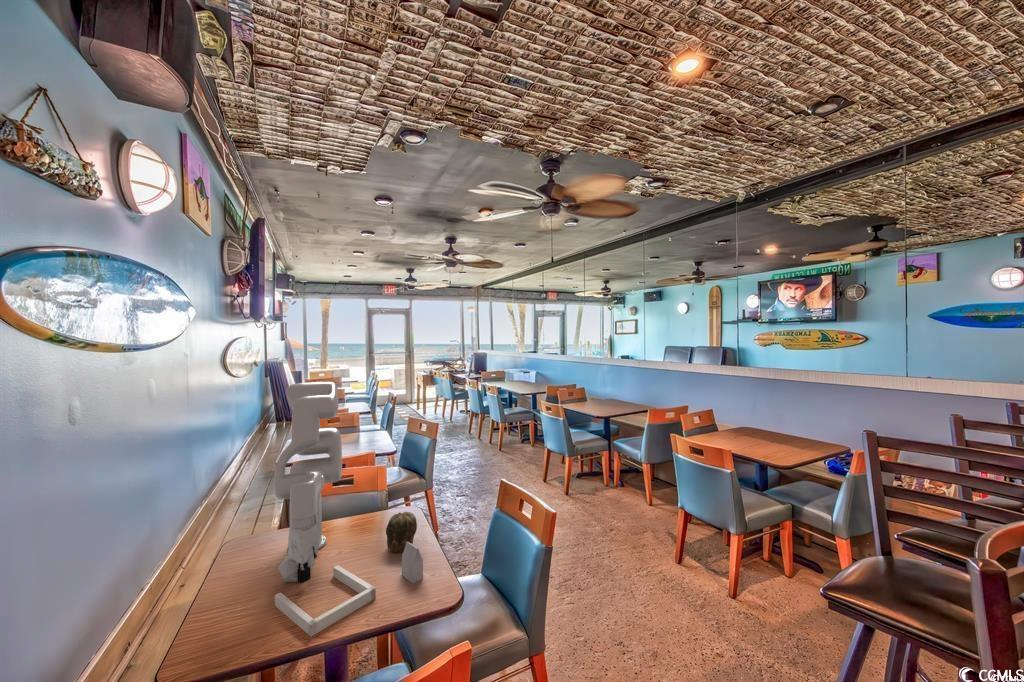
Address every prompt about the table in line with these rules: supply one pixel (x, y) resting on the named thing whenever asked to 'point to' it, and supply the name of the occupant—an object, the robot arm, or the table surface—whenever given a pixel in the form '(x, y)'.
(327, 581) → the table surface
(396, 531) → the shell
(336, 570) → the bay
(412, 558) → the grey faceted angular block
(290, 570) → the die
